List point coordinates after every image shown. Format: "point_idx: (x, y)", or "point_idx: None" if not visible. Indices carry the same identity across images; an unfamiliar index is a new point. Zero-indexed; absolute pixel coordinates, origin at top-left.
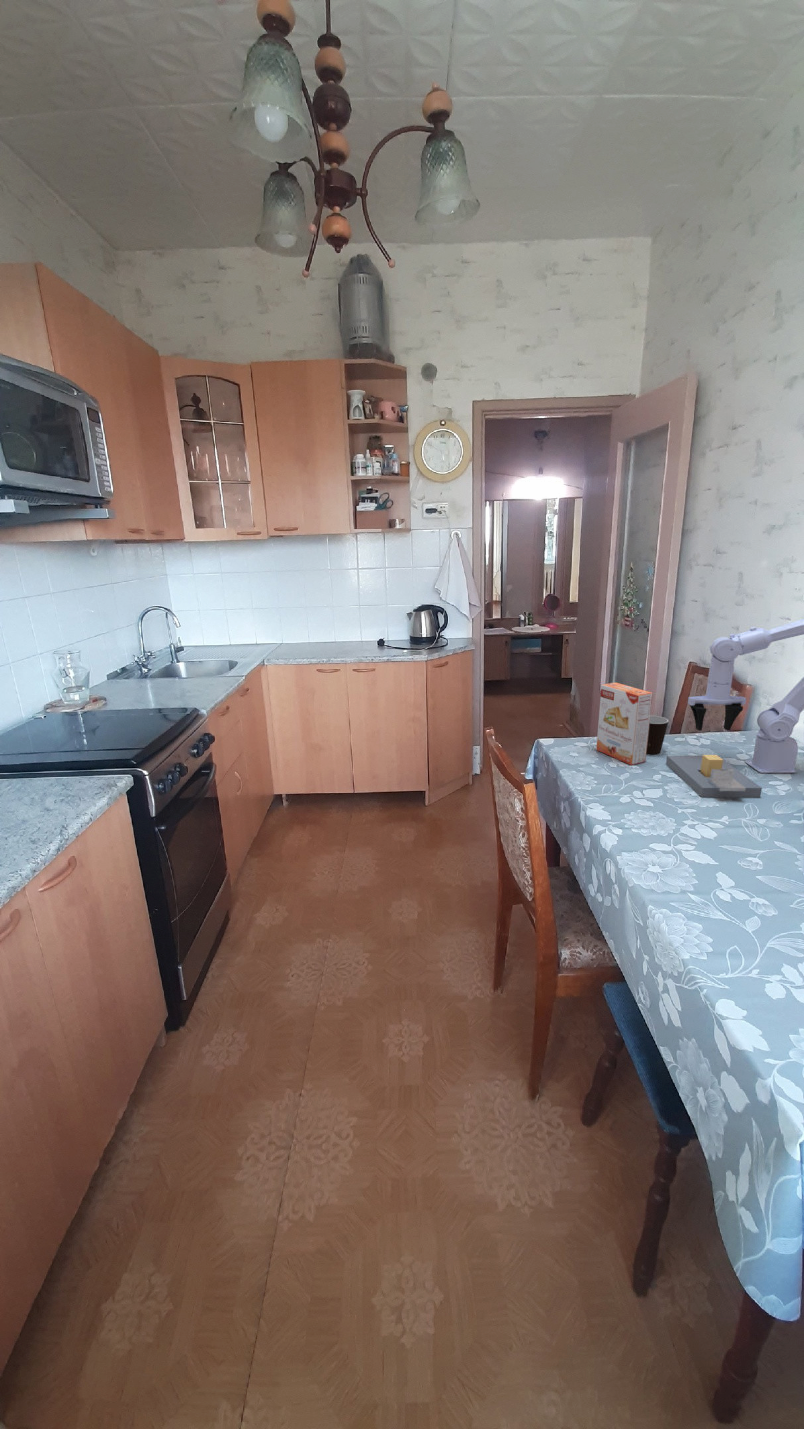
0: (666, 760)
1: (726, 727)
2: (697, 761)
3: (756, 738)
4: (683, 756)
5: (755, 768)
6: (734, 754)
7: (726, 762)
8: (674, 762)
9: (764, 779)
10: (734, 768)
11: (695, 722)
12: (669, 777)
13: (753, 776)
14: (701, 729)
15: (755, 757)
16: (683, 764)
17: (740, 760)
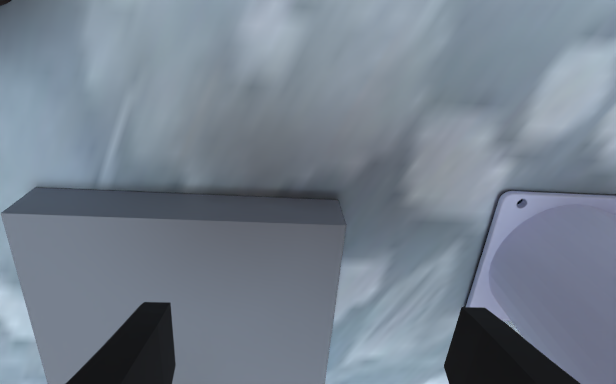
0: (22, 197)
1: (461, 365)
2: (172, 305)
3: (613, 361)
4: (113, 231)
5: (475, 286)
6: (552, 52)
7: (328, 319)
8: (28, 312)
9: (431, 362)
10: (320, 381)
11: (100, 354)
12: (17, 343)
13: (409, 337)
14: (169, 379)
15: (516, 295)
16: (74, 339)
17: (505, 156)
